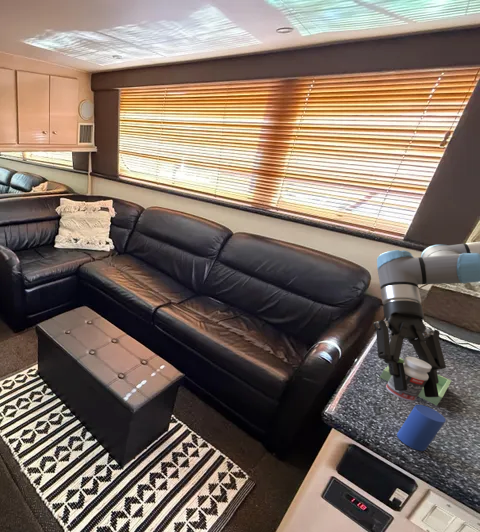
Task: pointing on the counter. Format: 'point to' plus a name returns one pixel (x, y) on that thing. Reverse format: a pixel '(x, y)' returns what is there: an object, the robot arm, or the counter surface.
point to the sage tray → (441, 387)
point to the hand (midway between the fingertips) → (416, 393)
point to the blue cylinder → (420, 427)
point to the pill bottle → (411, 378)
